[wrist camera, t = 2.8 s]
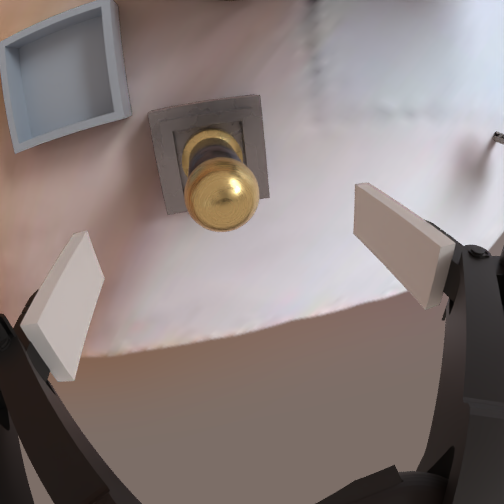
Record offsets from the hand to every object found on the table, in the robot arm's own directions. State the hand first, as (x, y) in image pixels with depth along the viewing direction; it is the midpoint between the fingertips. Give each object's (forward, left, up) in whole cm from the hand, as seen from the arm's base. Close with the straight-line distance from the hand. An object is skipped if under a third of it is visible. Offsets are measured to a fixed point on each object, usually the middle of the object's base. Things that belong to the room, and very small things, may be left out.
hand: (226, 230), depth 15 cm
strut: (0, 0, -16) cm, 16 cm away
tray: (-11, -13, -18) cm, 25 cm away
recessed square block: (0, 0, -19) cm, 19 cm away
